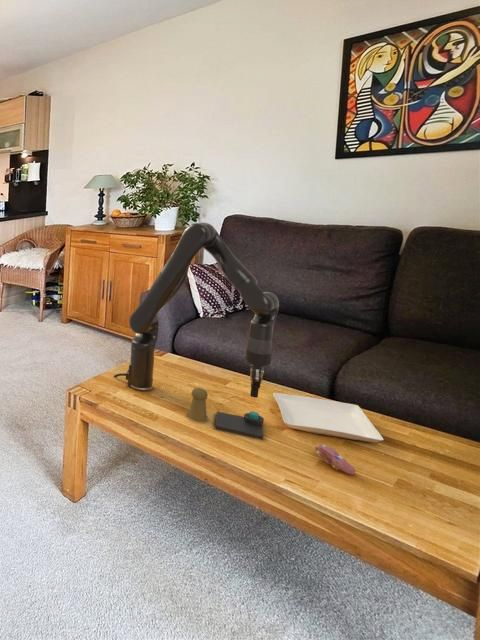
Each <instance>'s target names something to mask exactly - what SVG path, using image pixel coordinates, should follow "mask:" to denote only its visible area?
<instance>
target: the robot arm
mask: <svg viewBox="0 0 480 640" xmlns="http://www.w3.org/2000/svg"><path fill="white" fill-rule="evenodd" d="M201 249H204V250H205V251H206V252H208V254H210V255H211V257H212V258H213V259H214V260H215V261H216V263H217V265H218V267H219V268H220V271H221V272H222V274H223V275H224V277H225V278H226V280H227V281H228V282H229V283H230V284H231V285H232V286H233V287H234V288H235V290H237V292H238V293H239V295H240V296H241V299H242V300H243V302H244V303H245V304H246V306H247V308H248V309H249V310H250V311H251V312H253V313H254V316H253V319H251V320H250V322H249V329H248V337H247V341H246V350H245V357H244V358H245V361H246V362H247V363H248V364H250V368H249V372H250V374H249V378H250V379H249V380H250V393H249V395H250V397H252V398H258V397H259V390H260V388H261V384H262V381H263V376H264V373H265V369H264V367H268V366H270V365H271V363H272V354H273V338H274V337H273V336H274V326H275V324H276V320H277V317H278V314H279V309H280V300H279V298H278V297H277V295H276V294H274V293H273V292H270V291H263V290H262V289H261V288H260V287H259V286H258V283H259V282H258V281H259V280H258V279H257V278H256V277H255V276H254V274H252V273H251V272H250V271H249V270H248V269H247V268H246V266H245V265H243V264H242V262H241V261H240V260H239V259H238V258H237V257H236V256H235V254H234V253H233V252H232V251H231V250H230V248H229V247H228V246H227V245H226V243H225V241H224V240H223V238H222V237H221V236H220V234H219V233H218V231H217V229H216V228H215V227H214V226H213V225H212V224H211V223H208V222H195V223H194V222H193V223H191V224H189V225H188V226H187V227H186V228H185V229H184V230H183V232H182V234H181V236H180V239H179V241H178V243H177V244H176V247H175V248H174V251H173V253H172V254H171V255H170V257H169V258H168V259H167V261H166V263H165V264H164V265H163V267H162V268H161V270H160V271H159V273H158V275H157V276H156V278H155V280H154V282H153V283H152V285H150V288H149V290H148V291H147V293H146V295H145V297H144V298H143V300H142V301H141V302H140V304H139V305H138V306H137V308H136V309H135V310H134V311H133V312H132V314H131V315H130V316H129V320H128V324H129V328H130V330H131V331H132V332H133V333H134V336H133V338H131V341H130V344H131V345H130V361H129V364H128V369H127V371H126V372H125V373H124V372H123V373H116V374H114V375H113V377H114V378H115V379H116V378H118V377H125V380H126V381H127V387H128V388H131V389H133V390H136V391H140V392H148V391H151V390H153V388H154V387H153V383H154V365H155V364H154V363H155V349H156V343H157V341H158V335H159V325H160V324H159V323H160V322H159V321H160V320H159V316H158V313H159V311H160V310H161V309H162V308H163V307H164V306H165V305H166V304H167V303H169V301H170V300H172V299H173V297H175V296H176V294H177V293H178V291H179V290H180V289H181V287H182V286H183V284H184V282H185V281H186V279H187V275H188V273H189V268H190V266H191V263H192V261H193V259H195V257H196V255H197V254H198V253H199V252H200V250H201Z"/></svg>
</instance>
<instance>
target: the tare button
mask: <svg viewBox="0 0 480 640" xmlns="http://www.w3.org/2000/svg"><path fill="white" fill-rule="evenodd" d="M248 413H249V418H251V419H255V420H258V419H259V416H260V414H259V413H258V412H256V411H249V412H248Z"/></svg>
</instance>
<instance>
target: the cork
mask: <svg viewBox="0 0 480 640" xmlns="http://www.w3.org/2000/svg"><path fill="white" fill-rule="evenodd" d="M191 396H192V400H191V404H190V408H189V413H188V418H189V419H190V420H192V421H194V422H198V423H199V422H200V423H203V422H207V420H208V415H207V403H206V401H207V399H208V391H206V389H204V388H200V387H196V388H193V389H192V390H191Z"/></svg>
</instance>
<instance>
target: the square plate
mask: <svg viewBox="0 0 480 640" xmlns="http://www.w3.org/2000/svg"><path fill="white" fill-rule="evenodd" d="M272 396H273V398H274V400H275V401H276V403H277V405H278V408H279V411H280V414H281V418H282V421H283V423H284V424H285V425H286V426H287V427H288V428H290V429H294V430H299V431H302V432H307V433H312V434H317V435H323V436H330V437H335V438H341V439H346V440H351V441H362V442H367V443H378V442H382V441H384V437H383V436H382V434H381V433H380V432H379V431H378V429H377V428H376V427H375V426H374V423H372V421H371V420H370V419H369V418H368V416H367V415H366V413H365V412H364V411H363V409H362V408H361V407H360V406H359V405H358V404H353V403H348V402H342V401H335V400H331V399H330V400H329V399H324V398H316V397H312V396H311V397H309V396H304V395H303V396H302V395H297V394H294V395H293V394H288V393H280V392H272Z"/></svg>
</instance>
